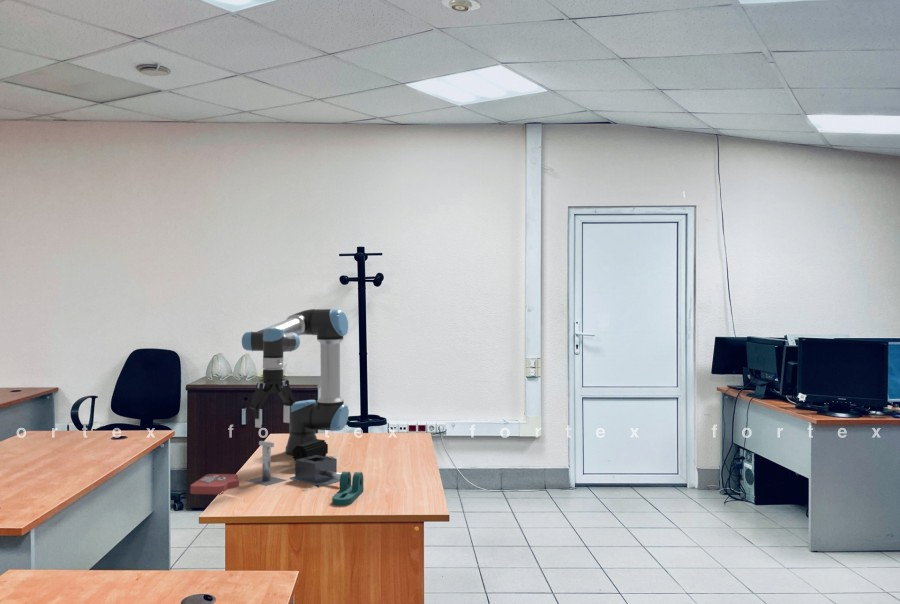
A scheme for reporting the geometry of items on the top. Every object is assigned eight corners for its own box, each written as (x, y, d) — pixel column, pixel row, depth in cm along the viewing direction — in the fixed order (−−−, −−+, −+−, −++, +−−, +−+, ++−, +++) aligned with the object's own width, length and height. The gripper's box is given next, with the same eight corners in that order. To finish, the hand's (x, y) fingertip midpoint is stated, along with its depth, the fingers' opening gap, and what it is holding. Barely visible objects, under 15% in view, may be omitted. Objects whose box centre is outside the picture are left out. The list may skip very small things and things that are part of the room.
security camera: (331, 462, 297) (332, 439, 297) (305, 472, 280) (305, 447, 280) (318, 461, 300) (318, 437, 300) (291, 470, 283) (291, 445, 283)
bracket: (345, 491, 253) (345, 469, 253) (363, 492, 252) (363, 470, 252) (329, 505, 235) (329, 482, 235) (349, 506, 234) (349, 483, 234)
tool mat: (245, 482, 264) (245, 480, 264) (266, 476, 272) (266, 475, 272) (266, 487, 257) (266, 485, 257) (287, 481, 265) (287, 480, 265)
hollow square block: (289, 480, 267) (289, 459, 267) (313, 474, 277) (313, 453, 277) (331, 489, 254) (331, 467, 254) (354, 482, 263) (354, 461, 263)
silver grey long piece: (257, 479, 265) (257, 441, 265) (263, 478, 268) (263, 440, 268) (269, 482, 261) (269, 443, 261) (275, 481, 263) (275, 442, 264)
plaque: (230, 485, 247) (188, 484, 248) (230, 496, 247) (188, 495, 248) (246, 472, 265) (207, 472, 265) (246, 482, 265) (207, 482, 265)
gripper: (252, 371, 253) (252, 430, 253) (304, 367, 274) (304, 421, 273) (239, 370, 258) (239, 428, 257) (291, 366, 278) (291, 419, 278)
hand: (272, 425), depth 265 cm, fingers open, 13 cm apart
